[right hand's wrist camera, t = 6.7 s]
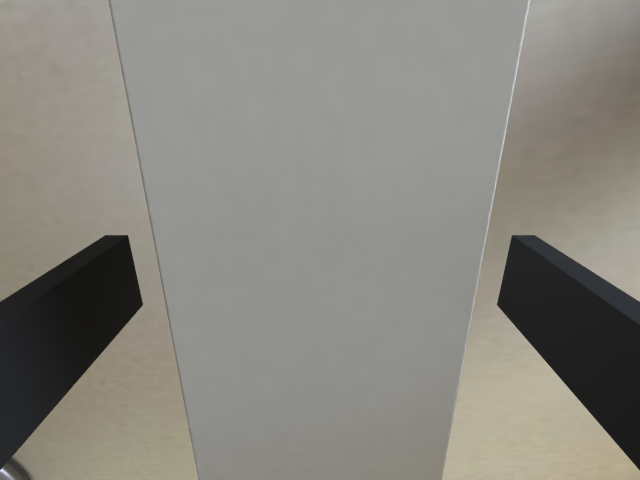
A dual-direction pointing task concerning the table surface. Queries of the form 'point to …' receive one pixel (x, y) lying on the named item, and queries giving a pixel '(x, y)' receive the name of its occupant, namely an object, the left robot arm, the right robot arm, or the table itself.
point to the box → (319, 218)
